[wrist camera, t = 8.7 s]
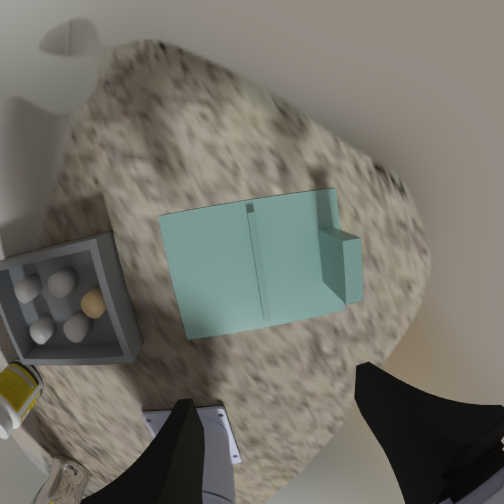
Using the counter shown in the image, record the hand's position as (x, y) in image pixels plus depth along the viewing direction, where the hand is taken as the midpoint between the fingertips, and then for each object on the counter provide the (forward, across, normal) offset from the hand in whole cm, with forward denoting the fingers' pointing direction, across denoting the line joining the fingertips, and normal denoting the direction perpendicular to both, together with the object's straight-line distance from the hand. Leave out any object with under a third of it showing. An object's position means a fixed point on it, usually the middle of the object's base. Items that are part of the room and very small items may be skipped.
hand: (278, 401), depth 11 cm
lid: (+11, -1, -3) cm, 11 cm away
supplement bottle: (+10, +25, +5) cm, 28 cm away
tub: (+10, +15, -3) cm, 19 cm away
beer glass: (+10, +29, +22) cm, 38 cm away
